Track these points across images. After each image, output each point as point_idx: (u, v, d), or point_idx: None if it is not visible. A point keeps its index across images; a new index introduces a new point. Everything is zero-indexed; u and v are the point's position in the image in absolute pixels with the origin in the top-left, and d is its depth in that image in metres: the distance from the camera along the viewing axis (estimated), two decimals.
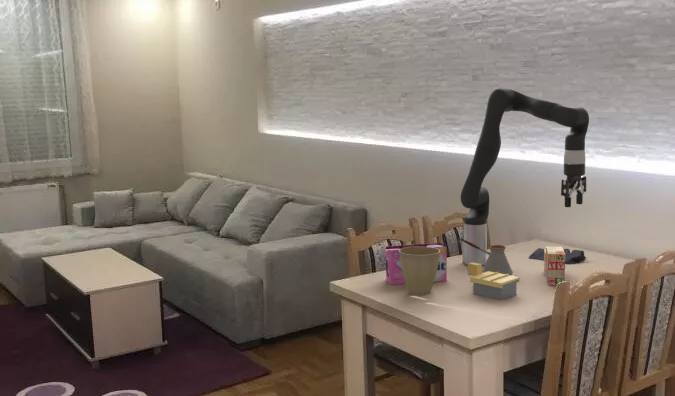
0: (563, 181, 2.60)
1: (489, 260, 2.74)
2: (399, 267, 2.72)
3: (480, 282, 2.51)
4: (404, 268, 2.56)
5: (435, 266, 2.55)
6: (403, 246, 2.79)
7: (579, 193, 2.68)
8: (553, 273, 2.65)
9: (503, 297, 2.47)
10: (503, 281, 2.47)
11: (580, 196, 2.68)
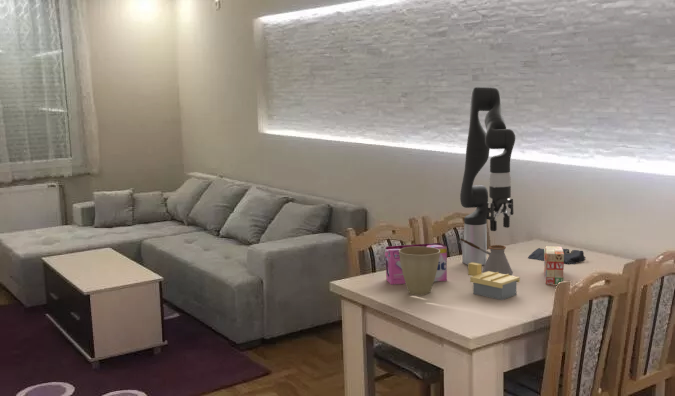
0: (488, 205, 2.53)
1: (489, 260, 2.74)
2: (399, 267, 2.72)
3: (480, 282, 2.51)
4: (404, 268, 2.56)
5: (435, 266, 2.55)
6: (403, 246, 2.79)
7: (506, 216, 2.62)
8: (552, 273, 2.65)
9: (503, 297, 2.47)
10: (503, 281, 2.47)
11: (507, 219, 2.61)
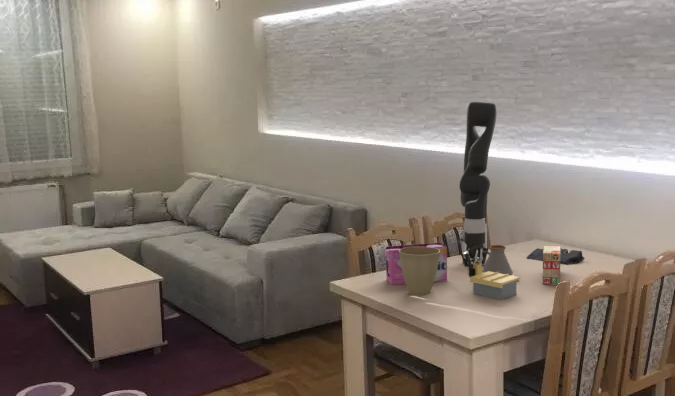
0: (463, 256, 2.55)
1: (489, 260, 2.74)
2: (400, 267, 2.72)
3: (480, 282, 2.51)
4: (404, 268, 2.56)
5: (435, 266, 2.55)
6: (403, 246, 2.79)
7: None
8: (548, 272, 2.66)
9: (503, 297, 2.47)
10: (503, 281, 2.47)
11: None
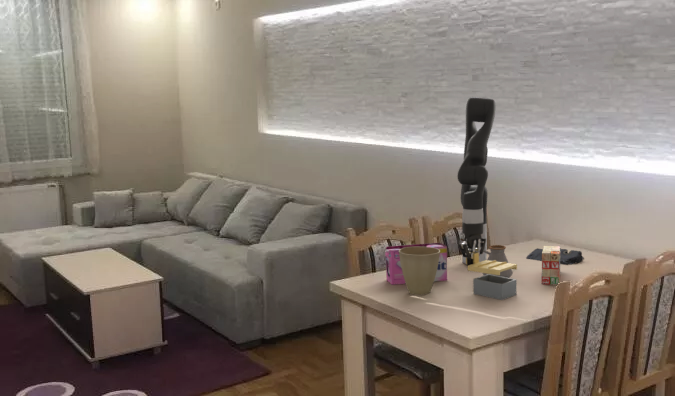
0: (461, 246, 2.55)
1: (489, 260, 2.74)
2: (400, 267, 2.72)
3: (478, 270, 2.52)
4: (404, 268, 2.56)
5: (435, 266, 2.55)
6: (403, 246, 2.79)
7: None
8: (547, 272, 2.66)
9: (503, 297, 2.47)
10: (500, 268, 2.47)
11: None
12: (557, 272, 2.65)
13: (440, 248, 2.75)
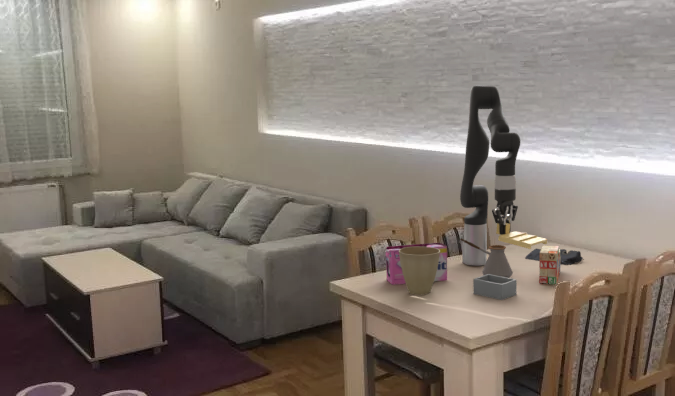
0: (494, 212, 2.58)
1: (489, 260, 2.74)
2: (400, 267, 2.72)
3: (508, 241, 2.56)
4: (404, 268, 2.56)
5: (435, 266, 2.55)
6: (403, 246, 2.79)
7: (507, 221, 2.64)
8: (545, 272, 2.67)
9: (503, 297, 2.47)
10: (532, 242, 2.52)
11: None
12: (555, 272, 2.66)
13: (440, 248, 2.75)
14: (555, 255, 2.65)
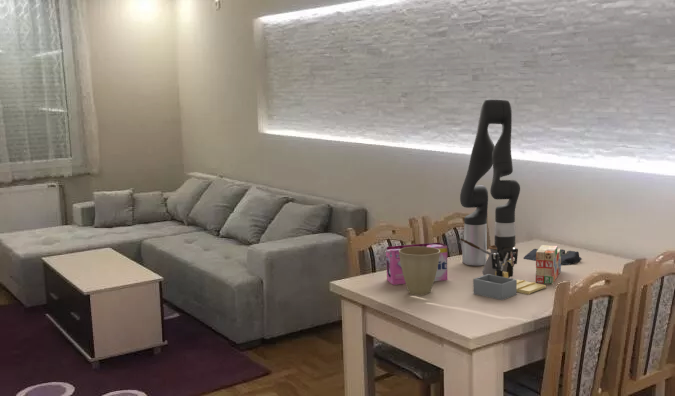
0: (493, 256, 2.60)
1: (489, 260, 2.74)
2: None
3: None
4: (404, 268, 2.56)
5: (435, 266, 2.55)
6: (403, 246, 2.79)
7: (509, 265, 2.67)
8: (541, 271, 2.68)
9: (503, 297, 2.47)
10: (530, 289, 2.55)
11: (510, 268, 2.67)
12: (551, 271, 2.67)
13: (440, 248, 2.75)
14: (551, 255, 2.66)
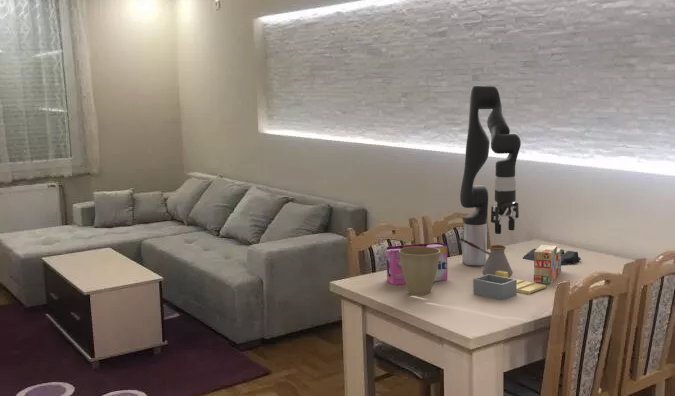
0: (493, 208, 2.58)
1: (489, 260, 2.74)
2: (401, 267, 2.72)
3: None
4: (404, 268, 2.56)
5: (435, 266, 2.55)
6: (403, 246, 2.79)
7: (511, 219, 2.66)
8: (540, 271, 2.69)
9: (503, 297, 2.47)
10: (530, 289, 2.55)
11: (512, 222, 2.66)
12: (549, 271, 2.67)
13: (441, 248, 2.75)
14: (549, 254, 2.66)
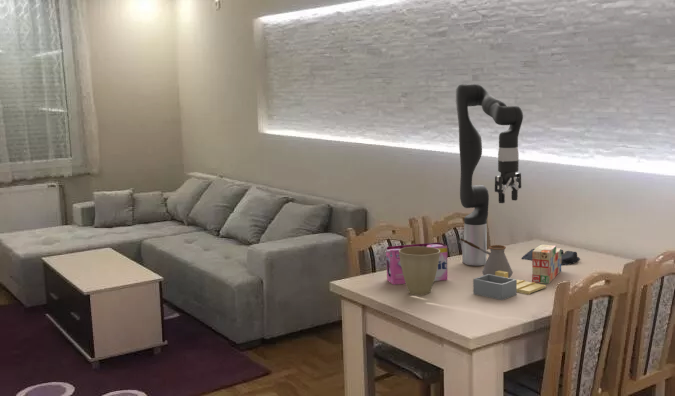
0: (497, 178, 2.67)
1: (489, 260, 2.74)
2: (401, 267, 2.72)
3: None
4: (404, 268, 2.56)
5: (435, 266, 2.55)
6: (403, 246, 2.80)
7: (514, 189, 2.75)
8: (538, 270, 2.69)
9: (503, 297, 2.47)
10: (530, 289, 2.55)
11: (515, 192, 2.75)
12: (547, 271, 2.68)
13: (441, 248, 2.76)
14: (547, 254, 2.67)
